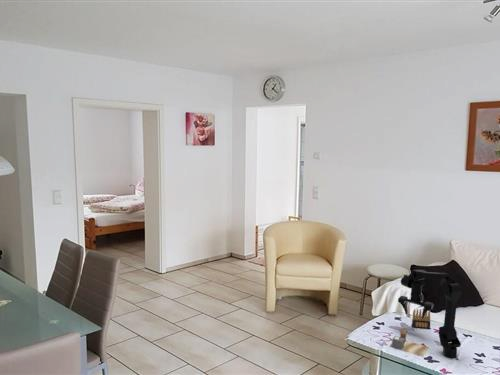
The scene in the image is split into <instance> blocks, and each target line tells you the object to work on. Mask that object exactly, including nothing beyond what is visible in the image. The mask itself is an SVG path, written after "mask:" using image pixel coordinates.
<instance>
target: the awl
mask: <svg viewBox="0 0 500 375" xmlns="http://www.w3.org/2000/svg"><path fill="white" fill-rule="evenodd" d="M399 337H401V338H404V343H405V342H406V341H407V329H406V328H403V327H402V328H400V335H399Z"/></svg>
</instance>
